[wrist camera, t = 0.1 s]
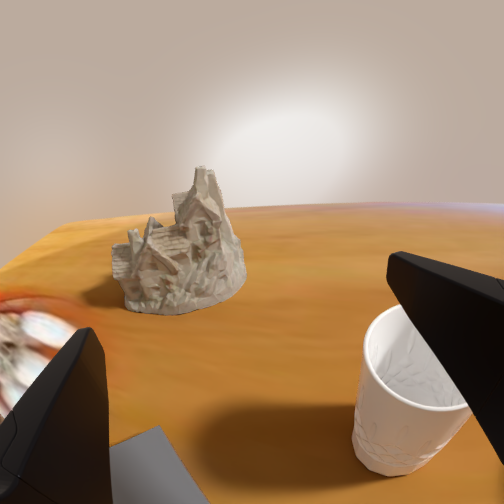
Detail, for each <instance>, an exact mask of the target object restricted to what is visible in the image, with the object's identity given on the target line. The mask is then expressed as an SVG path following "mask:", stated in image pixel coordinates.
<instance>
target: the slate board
mask: <svg viewBox="0 0 504 504" xmlns="http://www.w3.org/2000/svg"><path fill="white" fill-rule="evenodd" d="M109 452H110V471H111V485H112V496H113V504H211V503H210V502H209V500H208V499H207V498H206V496H205V495H204V493H203V492H202V491H201V489H200V488H199V486H198V485H197V483H196V482H195V480H194V479H193V477H192V476H191V474H190V473H189V471H188V470H187V468H186V467H185V465H184V464H183V462H182V460H181V459H180V457H179V456H178V454H177V452H176V451H175V449H174V447H173V446H172V444H171V443H170V441H169V439H168V437H167V436H166V434H165V433H164V431H163V430H162V428H161V427H160V425H159V426H156V427H154V428H152V429H150V430H148V431H146V432H144V433H142V434H139V435H137V436H135V437H133V438H131V439H128V440H126V441H124V442H121V443H119V444H117V445H115V446H112V447H110V448H109Z"/></svg>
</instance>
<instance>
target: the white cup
mask: <svg viewBox="0 0 504 504" xmlns="http://www.w3.org/2000/svg"><path fill="white" fill-rule="evenodd" d="M472 413H473V412H472V411H471V409H470V408H469V406H468V404H467V403H466V401H465V400H464V398H463V397H462V395H461V393H460V392H459V390H458V389H457V387H456V386H455V384H454V383H453V381H452V380H451V378H450V377H449V375H448V374H447V372H446V371H445V369H444V368H443V366H442V365H441V363H440V362H439V360H438V359H437V357H436V356H435V355H434V353H433V352H432V350H431V349H430V347H429V346H428V345H427V343H426V342H425V340H424V339H423V337H422V336H421V335H420V333H419V332H418V331H417V329H416V328H415V326H414V325H413V324H412V322H411V321H410V319H409V318H408V316H407V315H406V313H405V311H404V309H403V308H402V306H401V304H400V305H397V306H394V307H392V308H390V309H388V310H386V311H384V312H383V313H381V314H380V315H379V316H378V317H377V318H376V319H375V320H374V321H373V322H372V323H371V325H370V326H369V328H368V330H367V332H366V334H365V338H364V343H363V352H362V361H361V369H360V376H359V383H358V390H357V397H356V406H355V414H354V429H353V434H352V443H353V447H354V451H355V454H356V457H357V458H358V459H359V460H360V461H361V462H362V463H363V464H364V465H365V466H366V467H367V468H368V469H369V470H371V471H374V472H376V473H379V474H382V475H385V476H399V475H407V474H410V473H412V472H414V471H415V470H417V469H419V468H420V467H422V466H424V465H425V464H427V463H428V462H429V461H430V459H431V458H432V457H433V456H434V455H435V454H437V453H438V452H439V451H440V450H441V449H442V448H443V447H444V446H445V445H446V444H447V443H448V442H449V440H450V439H451V438H452V437H453V436H454V435H455V434H456V433H457V432H458V431H459V430H460V428H461V427H462V426H463V425H464V424H465V422H466V421H467V420H468V419H469V417H470V416H471V415H472Z"/></svg>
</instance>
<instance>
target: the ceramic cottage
mask: <svg viewBox="0 0 504 504" xmlns="http://www.w3.org/2000/svg"><path fill="white" fill-rule="evenodd" d="M172 199H173V204H174V211H175V221H176V224H175V225H172V226H169V227H163V226H162V225H161V224H160V223H159V222H157V221H156V220H155V219H154V218H153V217H150V218H149V221H148V223H147V227H146V229H145V231H144V236H143V238H141V237H140V236H139V231H138V229H136V228H135V230H129V231H127V232H128V238H129V242H130V243H124V244H114V245H113V246H112V252H111V254H112V270H113V277H114V279H115V280H118V282H119V284H120V286H121V288H122V289H123V291H124V293H125V296H124V298H125V306H126V308H127V309H128V310H129V311H130V310H131V311H132V312H135V311H136V312H139V311H141V312H142V313H148V314H150V313H153V314H159V315H162V314H163V315H176V314H182V313H188V312H191V311H193V310H197V309H203V308H207V307H209V306H213V305H215V304H216V303H218V302H223V301H225V300H227V299H228V298H230V297H231V296H233V295H234V294H235V293H236V292H237V291H238V290H239V289H240V288H241V287H242V285H243V284H244V282H245V280H246V278H247V273H246V268H245V264H244V256H243V250H242V249H241V242H240V239H238V238H237V237H236V235H234V233H233V230H232V226H231V223H230V220H229V218H228V217H227V215H226V214H225V209H224V204H223V199H222V193H221V190H220V188H219V186H218V184H217V181H216V177H215V173H214V171H213V170H206V168H205V166H199V167H196V170H195V177H194V185H193V186H192V188H191V190H190V191H187V192H182V193H176V194H172Z"/></svg>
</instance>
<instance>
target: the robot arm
mask: <svg viewBox="0 0 504 504" xmlns="http://www.w3.org/2000/svg"><path fill="white" fill-rule="evenodd" d="M386 279H387V282H388V285H389V286H390V288H391V290H392V291H393V293H394V294H395V296H396V298H397V299H398V301H399V303H400V304H401V306H402V308H403V309H404V311H405V313H406V315H407V316H408V318H409V319H410V321H411V322H412V324H413V325H414V326H415V328H416V329H417V331H418V332H419V333H420V335H421V336H422V337H423V339H424V340H425V342H426V343H427V345H428V346H429V347H430V349H431V350H432V352H433V353H434V355H435V356H436V357H437V359H438V360H439V362H440V363H441V365H442V366H443V368H444V369H445V371H446V372H447V374H448V375H449V377H450V378H451V380H452V381H453V383H454V384H455V386H456V387H457V389H458V390H459V392H460V393H461V395H462V397H463V398H464V400H465V401H466V403H467V404H468V406H469V408H470V409H471V411H472V412H473V414H474V416H476V419H477V421H478V423H479V424H480V426H481V428H482V429H483V431H484V433H485V434H486V436H487V438H488V439H489V441H490V443H491V445H492V446H493V448H494V450H495V452H496V453H497V455H498V457H499V459H500V461H501V462H502V464H503V465H504V280H501V279H498V278H496V279H495V278H494V277H491V276H488V275H485V274H481V273H478V272H474V271H471V270H467V269H464V268H461V267H457V266H454V265H450V264H446V263H443V262H439V261H436V260H432V259H429V258H425V257H421V256H418V255H414V254H410V253H407V252H403V251H399V252H396V253H392V254H391V255H390V256H389V258H388V266H387V274H386ZM0 504H113V496H112V485H111V471H110V452H109V400H108V389H107V378H106V365H105V354H104V350H103V347H102V346H101V344H100V342H99V340H98V338H97V336H96V334H95V332H94V330H93V329H92V328H90V327H87V328H82V329H78V330H77V331H76V332H75V333H74V334H73V335H72V337H71V338H70V339H69V340H68V341H67V342H66V344H65V345H64V346H63V347H62V348H61V349H60V351H59V352H58V353H57V354H56V355H55V356H54V358H53V359H52V360H51V361H50V362H49V364H48V365H47V366H46V367H45V368H44V370H43V371H42V372H41V373H40V375H39V376H38V377H37V378H36V379H35V381H34V382H33V383H32V384H31V386H30V387H29V388H28V389H27V391H26V392H25V393H24V394H23V396H22V397H21V398H20V400H19V401H18V402H17V403H16V405H15V406H14V407H13V411H12V410H11V411H10V412H9V414H8V415H7V417H6V418H5V419H4V420H3V422H2V423H1V424H0Z"/></svg>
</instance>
